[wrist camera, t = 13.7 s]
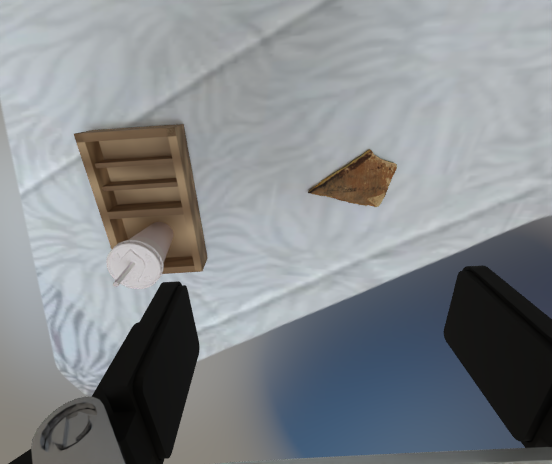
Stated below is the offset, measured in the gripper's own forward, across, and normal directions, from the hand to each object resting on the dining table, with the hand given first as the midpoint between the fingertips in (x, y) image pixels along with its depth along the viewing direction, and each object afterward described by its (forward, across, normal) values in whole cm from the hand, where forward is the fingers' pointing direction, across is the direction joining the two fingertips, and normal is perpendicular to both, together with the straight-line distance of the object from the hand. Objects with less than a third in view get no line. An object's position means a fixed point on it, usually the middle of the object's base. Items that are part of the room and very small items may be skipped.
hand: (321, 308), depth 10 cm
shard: (+34, -10, +6) cm, 36 cm away
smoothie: (+32, +19, +11) cm, 39 cm away
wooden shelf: (+33, +19, +6) cm, 38 cm away
